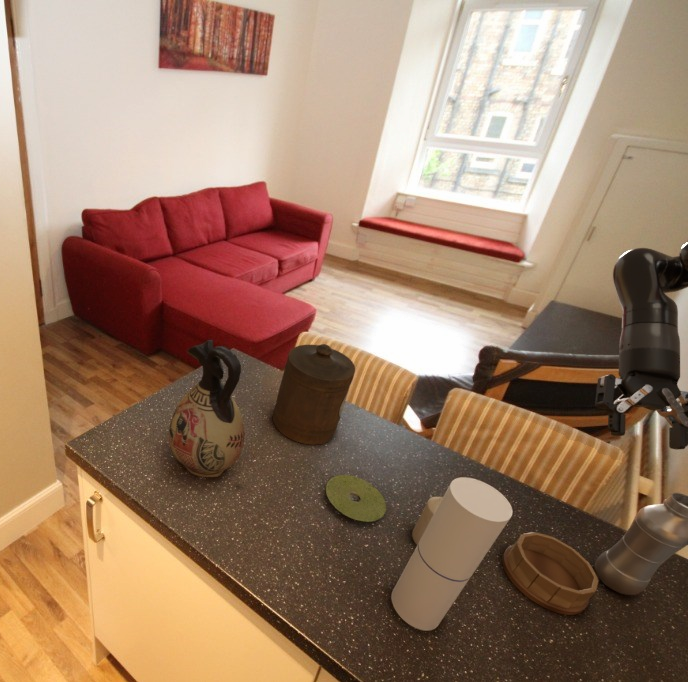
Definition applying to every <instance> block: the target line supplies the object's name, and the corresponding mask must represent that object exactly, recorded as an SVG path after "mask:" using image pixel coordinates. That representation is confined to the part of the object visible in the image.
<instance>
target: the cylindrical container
mask: <svg viewBox="0 0 688 682" xmlns="http://www.w3.org/2000/svg"><path fill="white" fill-rule="evenodd" d="M442 497H443V499H442V500H441V502H440V504H439V506H438V508H437V510H436V512H435V513H434V515H433V517H432V519H431V521H430V523H429V524H428V526H427V528H426V530H425V532H424V534H423V536H422V537H421V539H420V541H419V543H418V545H417V544H416V546H415V549H414V551H413V553H412V554H411V556H410V558H409V560H408V562H407V563H406V566H405V567H404V569H403V571H402V572H401V575H400V576H399V579H398V580H397V582H396V584H395V586H394V587H393V589H392V592H391V595H390V597H391V598H390V599H391V603H392V607H393V608H394V610H395V612H396V613H397V615H398V616H399V617H400V618H401V619H402V620H403V621H404V622H405V623H406V624H408V625H409V626H411V627H412V628H415V629H417V630H419V631H426V632H427V631H428V632H429V631H433V630H435V629H437V628H438V627H439V625H440V624H441V623H442V621H443V619H444V618H445V616H446V614H447V613H448V612H449V610H450V609H451V608H452V606H453V604H454V603H455V601H456V600H457V598H458V597H459V596H460V594H461V592H462V591H463V589H464V588H465V587H466V585H467V583H468V582H469V580H470V579H471V577H473V574H474V573H475V571H476V570H477V569H478V567H479V566H480V564H481V563H482V561H483V560H484V558H485V557H486V555H487V553H488V552H489V551H490V549H491V547H492V546H493V545H494V543H495V542H496V540H497V539H498V537H499V535H500V534H501V533H502V531H503V530H504V528H505V527H506V525H507V524H508V523H509V521H510V520H511V518H512V516H513V507H512V505H511V503H510V502H509V500H508V499H507V497H505V495H504V494H503V493H502V492H500V491H499V490H497V488H495V487H493V486H492V485H490V484H488V483H486V482H484V481H482V480H479V479H476V478H472V477H465V476H463V477H462V476H461V477H457V478H454V479H452V481H451V482H450V484H449V486H448V488H447V490H446V491H445V492H444V495H443V496H442Z"/></svg>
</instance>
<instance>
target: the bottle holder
mask: <svg viewBox="0 0 688 682" xmlns="http://www.w3.org/2000/svg"><path fill="white" fill-rule="evenodd" d="M501 565H502V568H503V570H504V573H505V574H506V576H507V578H508V579H509V581H510V582H511V583H512V584H513V585H514V586H515V588H516V589H517V590H518V591H519V592H520V593H522V594H523V595H524V597H527V598H528V599H529V600H530V601H532V602H534V603H535V604H536V605H538V606H540V607H542V608H544V609H546V610H548V611H550V612H553V613H555V614H560V615H566V616H574V615H579V614H581V613H583V612H584V611H585V610H586V608H588V606H589V603H590V598H591V597H592V596H593V595H594V594H595V593H596V591H597V589H598V585H599V581H600V579H599V577H598V576H597V574H596V571H595V569H594V568H593V567H592V564H590V562H589V561H588V560H587V559H585V558H584V557H583V555H581V554H580V553H579V552H578V551H577V549H573V547H572V546H570V545H569V544H566V543H565V542H563V541H561V540H560V539H558V538H557V537H553V536H552V535H549V534H544V533H540V532H536V531H535V532H534V531H532V532H527V533H522V534H520V536H519V537H518V539H517V540H516V541H515V543H514V544H512V545H510V546H508V547H507V548H506V549H505V551H504V552H503V553H502V556H501Z"/></svg>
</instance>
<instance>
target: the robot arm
mask: <svg viewBox="0 0 688 682" xmlns="http://www.w3.org/2000/svg"><path fill="white" fill-rule="evenodd" d="M612 281H613V285H614V288H615V292H616V295H617V298H618V301H619V304H620V306H621V309H622V314H621V315H622V316H621V333H620V337H619V347H618V348H619V349H618V352H619V353H618V376H619V378H618V377H616V375H614V374H613V373H610V374H607V375H603V376H599V377H598V378H597V383H596V384H597V385H596V392H595V401H594V406H595V408H596V409H601V410H603V411H605V412H606V413H607V430H608V432H610V435H611V436H615V437H623V436H625V435H626V417H627V414H625V412H626V411H627V410H628V409H630V408H631V407H635V408H644V409H646V410H648V411H653V412H654V411H656V412H657V413H658V415H659V416H661V417H662V418H664V419H665V420H666V422H667V424H669V425H670V427H668V431H669V432H668V438H669V439H668V442H669V443H668V447H669V449H670V450H671V449H672V450H675V451H676V450H678V451H679V450H685V449H686V447H688V391H685V390H681V389H680V388H679V386H678V382H679V380H680V378H681V339H680V334H679V310H678V309H679V308H678V305H677V303H676V301H675V300H674V299H673V298H671V297H669V296H668V295H667V294H671V293H675V292H680V291H682V290H684V289H687V288H688V242H686V243H685V244H683V245H682V246H681V249H680V251H679V255H677V256H671V255H668V254H666V253H663V252H660V251H659V250H656V249H652V248H648V247H636V248H632V249H630V250H627V251H626V252H624V253H623V254H622V255H620V256H619V257H618V258H617V260H616V262H615V263H614V266H613V269H612ZM617 388H618V390H619V391H620V392H621V395H620V396H619V397H617V398H616V399H615V400H614V397H615V390H616V389H617ZM677 399H678V400H677ZM668 407H669V408H670V409H668Z"/></svg>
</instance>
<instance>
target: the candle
mask: <svg viewBox="0 0 688 682" xmlns="http://www.w3.org/2000/svg"><path fill="white" fill-rule="evenodd" d="M443 497H444V496H432V497H430V498H429V499H428V501H427V502H426V504H425V506H424V508H423V510H422V512H421V514H420V515H419V518H418V520H417V521H416V523H415V525H414V527H413V530H412V531H411V537H412V540H413V542H414V544H415V545H416V546H417V545H418V543H419V541H420V539H421V537H422V536H423V534H424V532H425V530H426V528H427V526H428V524H429V523H430V521H431V519H432V517H433V515H434V513H435V512H436V510H437V508H438V506H439V504H440V502H441V500H442V499H443Z"/></svg>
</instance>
